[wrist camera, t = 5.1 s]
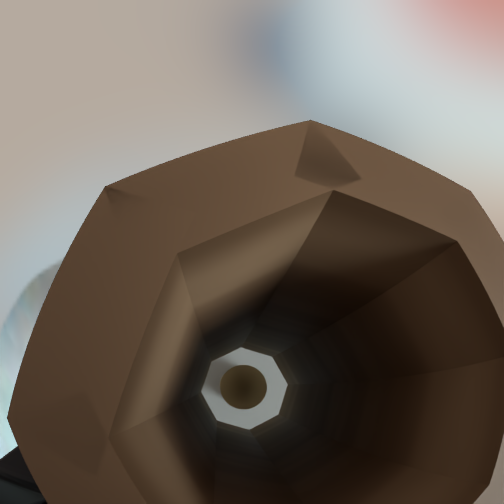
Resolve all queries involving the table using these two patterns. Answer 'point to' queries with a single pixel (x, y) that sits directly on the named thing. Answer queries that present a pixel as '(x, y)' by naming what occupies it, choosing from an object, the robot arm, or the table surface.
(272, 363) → the post stand
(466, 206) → the brown faceted vase
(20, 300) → the table surface
